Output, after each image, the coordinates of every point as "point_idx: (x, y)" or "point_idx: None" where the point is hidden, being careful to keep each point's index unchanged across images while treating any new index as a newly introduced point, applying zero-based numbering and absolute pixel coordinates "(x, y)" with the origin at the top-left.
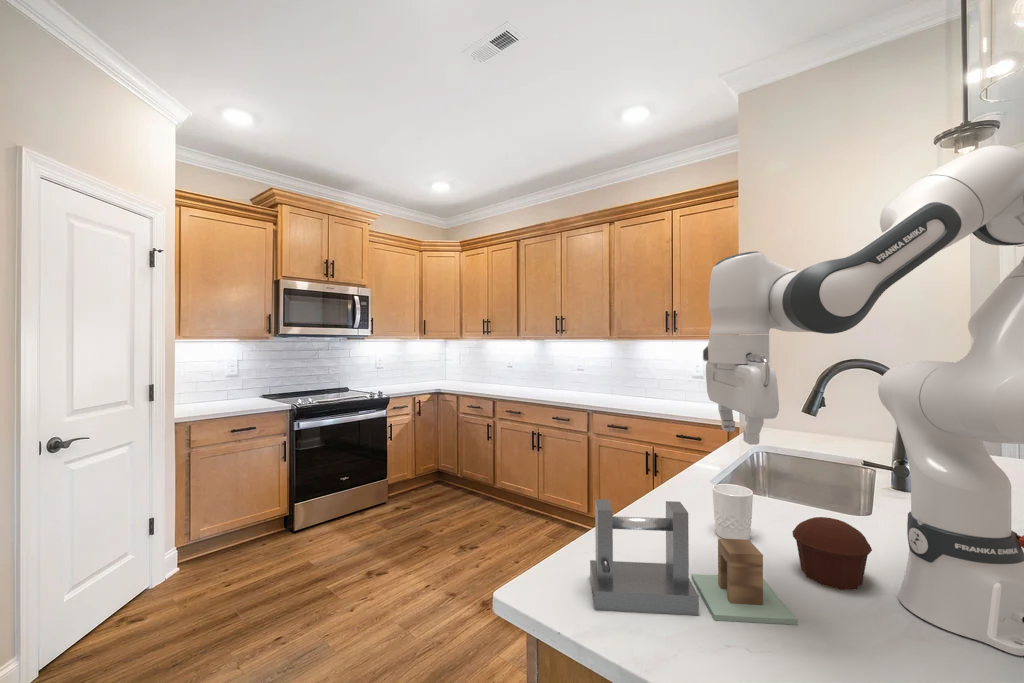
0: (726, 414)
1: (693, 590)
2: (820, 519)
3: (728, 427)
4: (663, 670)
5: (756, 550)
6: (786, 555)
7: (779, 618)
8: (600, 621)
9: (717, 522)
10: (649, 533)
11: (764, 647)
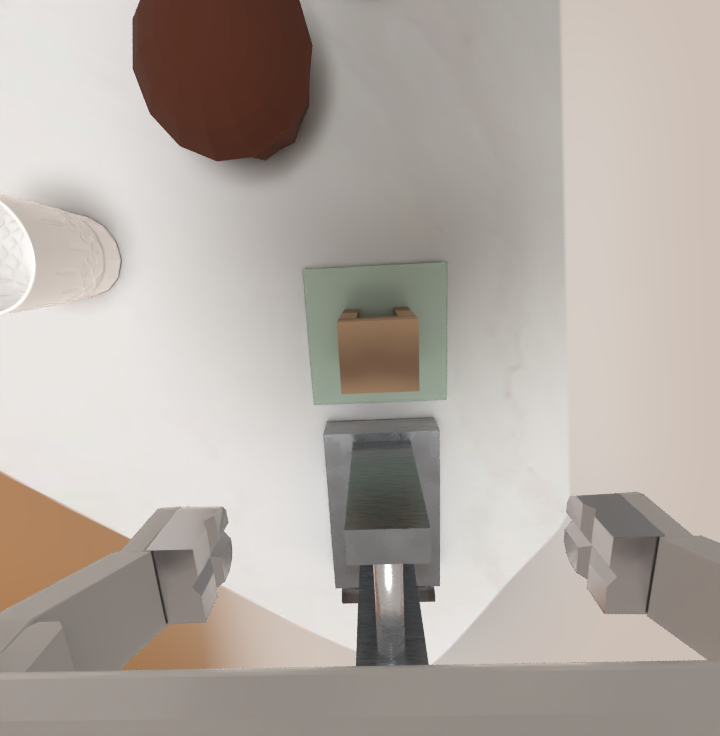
0: (103, 636)
1: (420, 434)
2: (190, 54)
3: (220, 560)
4: (562, 490)
5: (396, 324)
6: (165, 160)
7: (446, 293)
8: (462, 556)
9: (76, 299)
10: (128, 446)
11: (508, 341)
